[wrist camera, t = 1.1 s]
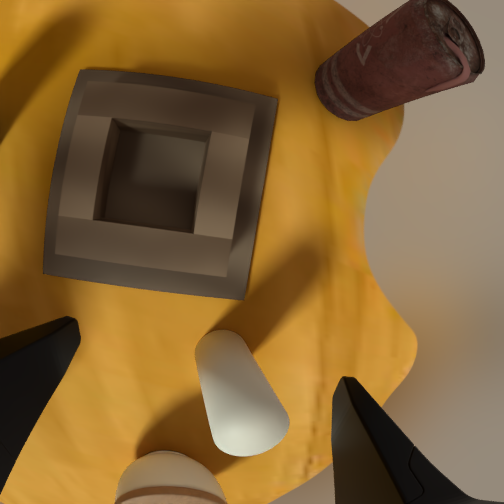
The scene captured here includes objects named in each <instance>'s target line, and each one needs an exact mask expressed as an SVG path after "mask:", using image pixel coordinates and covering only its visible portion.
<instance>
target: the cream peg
mask: <svg viewBox="0 0 504 504" xmlns="http://www.w3.org/2000/svg"><path fill="white" fill-rule="evenodd" d="M195 360H196V365H197V370H198V375H199V380H200V384H201V389H202V394H203V398H204V403H205V407H206V412H207V416H208V420H209V424H210V429H211V433H212V437H213V440H214V443H215V444H216V446H217V447H218V448H219V449H220V450H222V451H223V452H225V453H227V454H230V455H234V456H252V455H257V454H260V453H263V452H265V451H267V450H269V449H271V448H273V447H274V446H275V445H277V444H278V443H279V442H280V441H281V440H282V439H283V438H284V436H285V435H286V433H287V431H288V428H289V417H288V414H287V412H286V411H285V409H284V408H283V406H282V404H281V403H280V401H279V399H278V398H277V396H276V394H275V393H274V391H273V389H272V388H271V386H270V384H269V383H268V381H267V379H266V378H265V376H264V374H263V373H262V371H261V369H260V367H259V366H258V364H257V362H256V361H255V359H254V357H253V355H252V354H251V352H250V350H249V348H248V347H247V345H246V343H245V341H244V340H243V338H242V337H241V336H240V335H238V334H237V333H235V332H233V331H230V330H216V331H212V332H210V333H208V334H206V335H205V336H204V337H202V338H201V340H200V341H199V342H198V344H197V346H196V349H195Z"/></svg>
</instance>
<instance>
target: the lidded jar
mask: <svg viewBox="0 0 504 504" xmlns="http://www.w3.org/2000/svg"><path fill="white" fill-rule="evenodd" d="M115 504H227V501H226V498H225V495H224V492H223V490H222V488H221V486H220V484H219V483H218V481H217V480H216V478H215V476H214V475H213V474H212V473H211V472H210V471H209V470H208V469H207V468H206V467H205V466H203V465H202V464H201V463H199V462H197V461H196V460H194V459H191V458H189V457H188V456H186V455H184V454H182V453H179V452H175V451H166V450H162V451H154V452H151V453H149V454H146V455H145V456H143V457H141V458H139V459H137V460H135V461H134V462H132V463H131V464H130V465H129V466H128V467H127V468H126V469H125V471H124V472H123V474H122V475H121V478H120V480H119V483H118V486H117V490H116V496H115Z"/></svg>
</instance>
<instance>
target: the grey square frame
mask: <svg viewBox="0 0 504 504" xmlns="http://www.w3.org/2000/svg"><path fill="white" fill-rule="evenodd" d="M277 101H278V99H276V98H272V97H269V96H265V95H261V94H257V93H253V92H249V91H245V90H240V89H236V88H231V87H227V86H222V85H217V84H212V83H207V82H201V81H196V80H190V79H183V78H177V77H170V76H162V75H154V74H145V73H135V72H123V71H108V70H80V71H79V74H78V77H77V80H76V83H75V86H74V89H73V92H72V95H71V99H70V102H69V105H68V109H67V112H66V116H65V120H64V124H63V127H62V131H61V136H60V140H59V144H58V149H57V154H56V159H55V164H54V169H53V175H52V181H51V187H50V194H49V201H48V209H47V218H46V228H45V241H44V259H43V274H48V275H54V276H59V277H65V278H71V279H77V280H84V281H90V282H96V283H103V284H110V285H117V286H124V287H131V288H138V289H146V290H154V291H162V292H170V293H178V294H187V295H196V296H205V297H214V298H224V299H235V300H244V298H245V292H246V286H247V280H248V274H249V268H250V262H251V256H252V250H253V244H254V238H255V232H256V226H257V220H258V214H259V208H260V203H261V197H262V191H263V185H264V179H265V173H266V167H267V161H268V155H269V149H270V143H271V137H272V131H273V125H274V119H275V113H276V107H277Z"/></svg>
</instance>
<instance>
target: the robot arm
mask: <svg viewBox="0 0 504 504" xmlns="http://www.w3.org/2000/svg"><path fill="white" fill-rule="evenodd" d="M80 341H81V336H80V331H79V325H78V321H77V320H76V319H75V318H72V317H69V316H65V317H62V318H59V319H56V320H53V321H50V322H48V323H45V324H42V325H39V326H36V327H33V328H30V329H27V330H24V331H21V332H18V333H15V334H12V335H10V336H7V337H4V338H1V339H0V494H1V492H2V490H3V487H4V485H5V483H6V481H7V479H8V477H9V474H10V472H11V470H12V468H13V466H14V464H15V462H16V461H15V460H17V458H18V456H19V454H20V452H21V450H22V448H23V446H24V444H25V442H26V441H27V439H28V437H29V435H30V433H31V431H32V429H33V428H34V426H35V424H36V422H37V420H38V419H39V417H40V415H41V413H42V412H43V410H44V408H45V407H46V405H47V403H48V401H49V400H50V398H51V396H52V395H53V393H54V391H55V390H56V388H57V386H58V385H59V383H60V382H61V380H62V378H63V376H64V375H65V373H66V371H67V369H68V367H69V365H70V363H71V360H72V358H73V356H74V354H75V352H76V350H77V348H78V347H79V344H80ZM331 443H332V456H333V470H334V486H335V504H504V502H494V501H485V500H478V499H475V498H472V497H470V496H468V495H466V494H465V493H464V492H463V491H461V490H460V489H459V488H458V487H457V486H456V485H455V484H453V483H452V482H451V481H450V480H449V479H448V478H447V477H445V476H444V475H443V474H442V473H441V472H440V471H439V470H438V469H437V468H436V467H435V466H434V465H433V464H432V463H430V461H429V460H428V459H427V458H426V457H425V456H424V455H423V454H422V453H421V452H420V451H419V450H418V448H417V447H416V446H414V444H413V443H412V442H411V441H410V439H409V438H408V437H407V436H406V435H405V434H404V433H403V432H402V430H401V429H400V428H399V427H398V426H397V425H396V424H395V423H394V422H393V420H392V419H391V418H390V417H389V416H388V415H387V414H386V412H385V411H384V410H383V409H382V408H381V407H380V406H379V404H378V403H377V402H376V401H375V400H374V399H373V398H372V396H371V395H370V394H369V393H368V392H367V391H366V390H365V389H364V387H363V386H362V385H361V384H360V383H359V382H358V381H357V379H356V378H354V377H347V376H343V377H342V378H341V379H340V381H339V383H338V385H337V388H336V390H335V392H334V395H333V400H332V431H331Z"/></svg>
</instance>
